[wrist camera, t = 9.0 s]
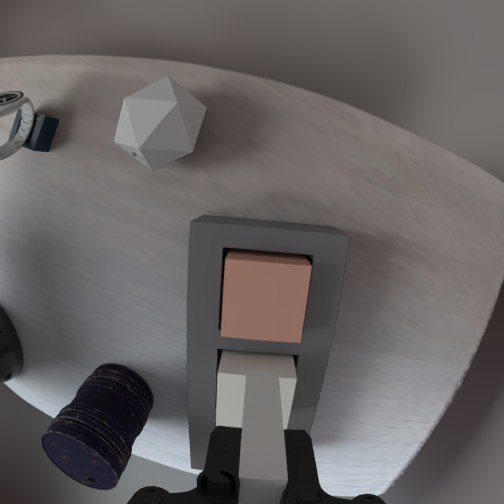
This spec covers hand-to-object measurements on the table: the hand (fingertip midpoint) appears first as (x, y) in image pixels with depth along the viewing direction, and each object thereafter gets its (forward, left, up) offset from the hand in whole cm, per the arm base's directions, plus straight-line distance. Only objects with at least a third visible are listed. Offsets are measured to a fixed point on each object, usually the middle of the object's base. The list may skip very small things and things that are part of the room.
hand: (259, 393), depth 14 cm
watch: (-30, +16, -21) cm, 40 cm away
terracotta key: (0, 0, -17) cm, 17 cm away
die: (-11, +15, -21) cm, 28 cm away
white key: (0, -10, -16) cm, 19 cm away
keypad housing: (0, -10, -20) cm, 23 cm away
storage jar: (-18, -19, -21) cm, 33 cm away
